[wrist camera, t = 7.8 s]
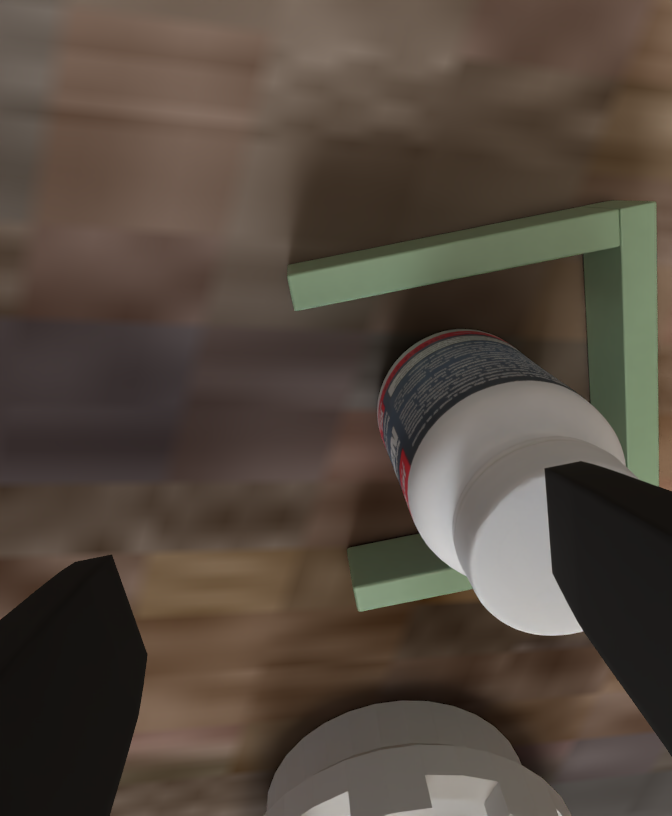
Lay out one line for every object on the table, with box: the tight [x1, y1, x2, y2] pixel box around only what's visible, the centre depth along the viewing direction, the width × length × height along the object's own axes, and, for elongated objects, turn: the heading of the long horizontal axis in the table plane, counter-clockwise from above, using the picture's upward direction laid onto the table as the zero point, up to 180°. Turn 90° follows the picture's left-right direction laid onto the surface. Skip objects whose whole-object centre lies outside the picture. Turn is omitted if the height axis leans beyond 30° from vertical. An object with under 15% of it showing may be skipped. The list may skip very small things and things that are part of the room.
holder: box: [287, 200, 659, 612], centre depth 19 cm, size 10×11×2 cm
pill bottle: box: [377, 329, 640, 636], centre depth 16 cm, size 5×5×9 cm
